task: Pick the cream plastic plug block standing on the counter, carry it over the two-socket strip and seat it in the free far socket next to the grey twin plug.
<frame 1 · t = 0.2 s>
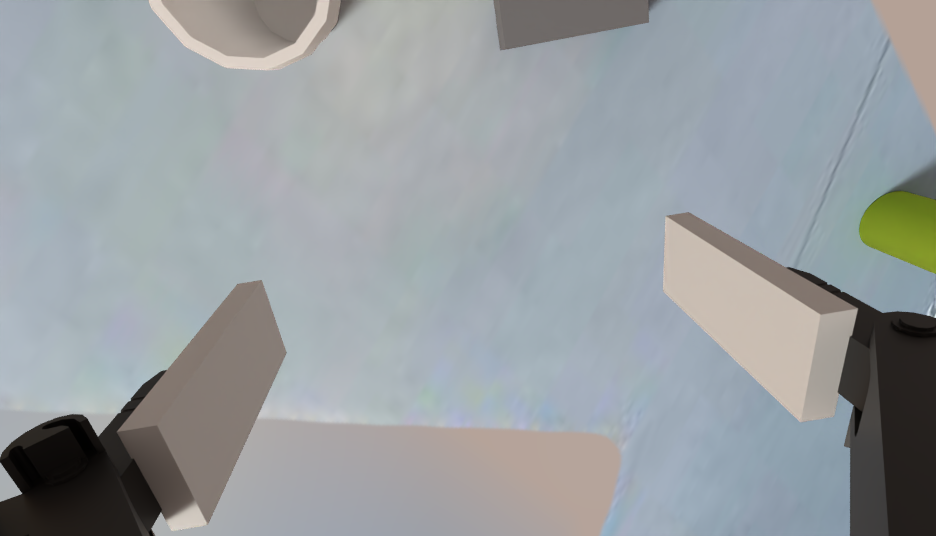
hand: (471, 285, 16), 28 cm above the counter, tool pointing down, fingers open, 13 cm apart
soap dispenser: (881, 223, 48), on the counter
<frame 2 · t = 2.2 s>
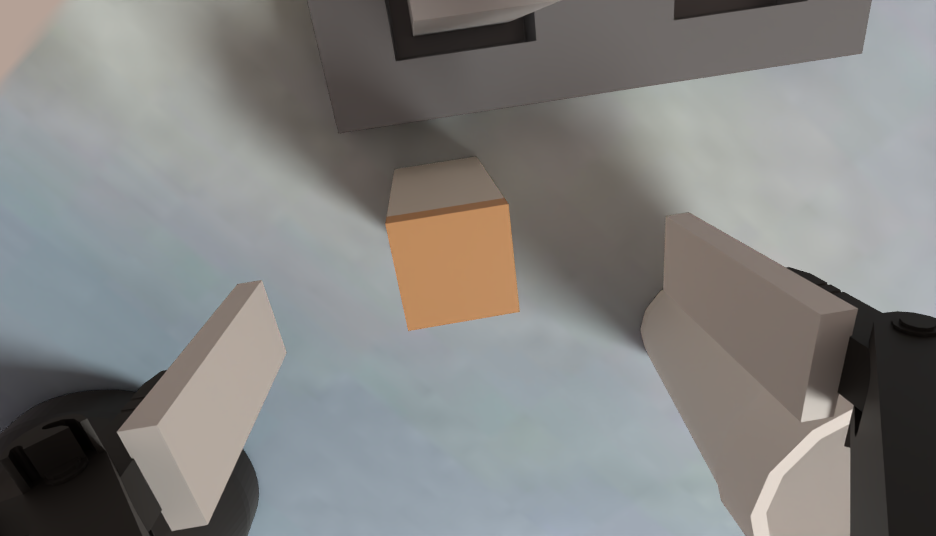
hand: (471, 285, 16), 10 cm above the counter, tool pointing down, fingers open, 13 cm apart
foam cup: (688, 319, 30), on the counter
plug: (441, 202, 25), on the counter
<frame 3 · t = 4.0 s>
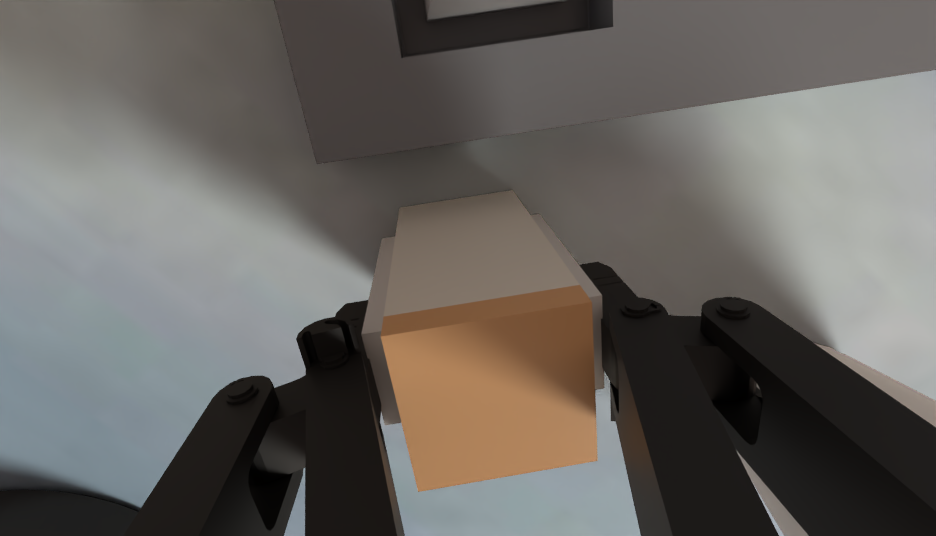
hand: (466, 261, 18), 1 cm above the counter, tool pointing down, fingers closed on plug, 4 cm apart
foam cup: (779, 395, 23), on the counter
plug: (464, 251, 19), on the counter, touching gripper
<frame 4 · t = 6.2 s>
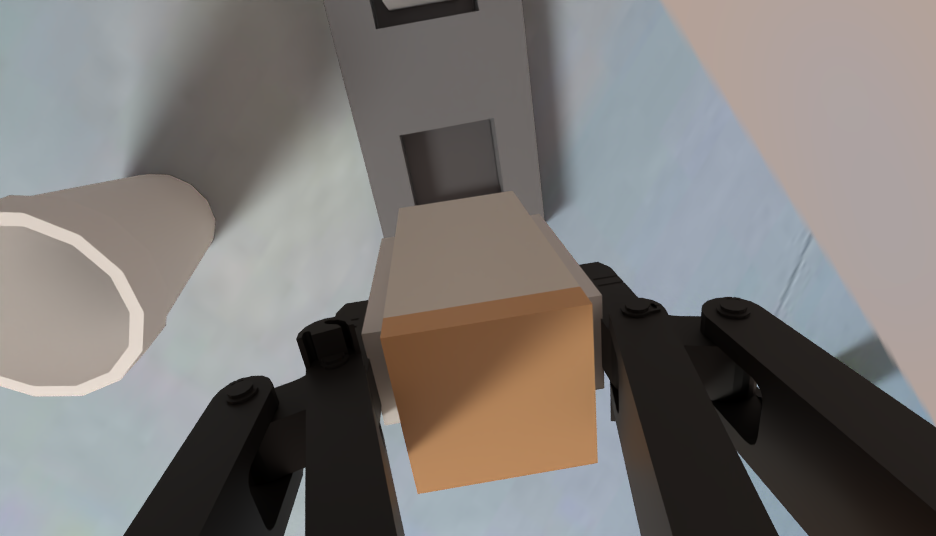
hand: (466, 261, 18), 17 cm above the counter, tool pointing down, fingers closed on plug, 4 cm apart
foam cup: (168, 218, 33), on the counter
socket strip: (436, 73, 31), on the counter
plug: (463, 252, 18), point 16 cm above the counter, touching gripper
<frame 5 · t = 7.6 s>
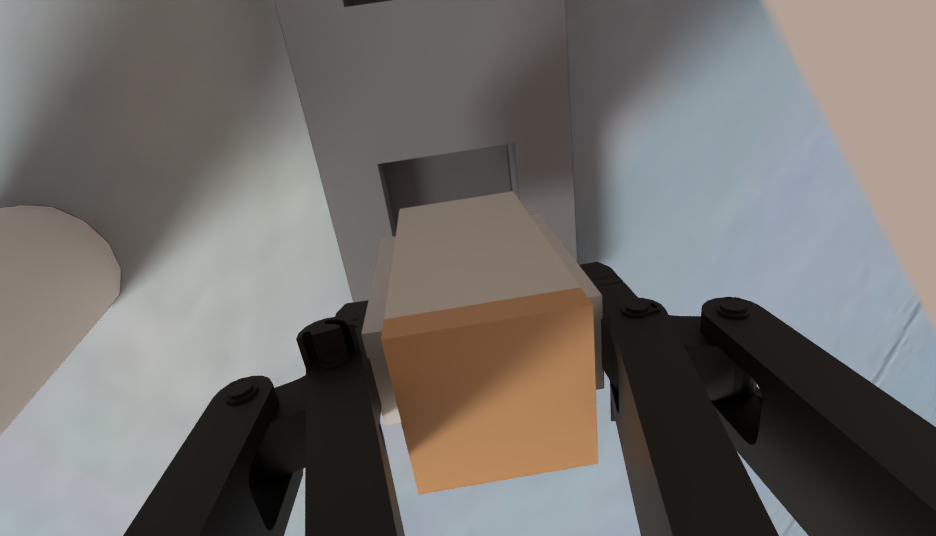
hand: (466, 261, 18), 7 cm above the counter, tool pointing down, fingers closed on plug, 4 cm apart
foam cup: (54, 265, 24), on the counter
socket strip: (433, 77, 22), on the counter
plug: (464, 252, 18), point 6 cm above the counter, touching gripper
when the fingers open (4 cm above the counter, at t = 8.5 s): plug drops 2 cm, resting on socket strip.
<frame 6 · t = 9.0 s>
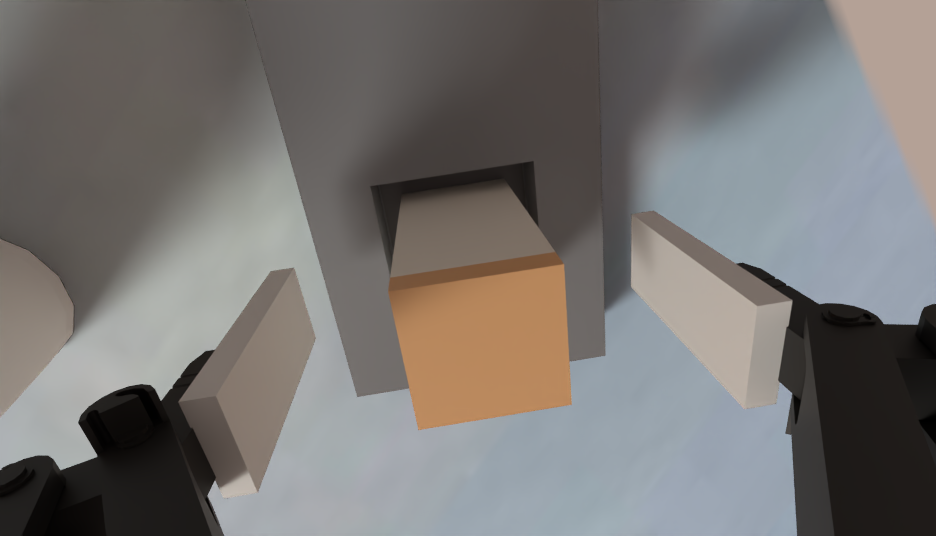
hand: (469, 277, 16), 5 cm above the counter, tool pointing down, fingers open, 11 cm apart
socket strip: (436, 82, 19), on the counter
plug: (460, 234, 20), point 1 cm above the counter, touching socket strip
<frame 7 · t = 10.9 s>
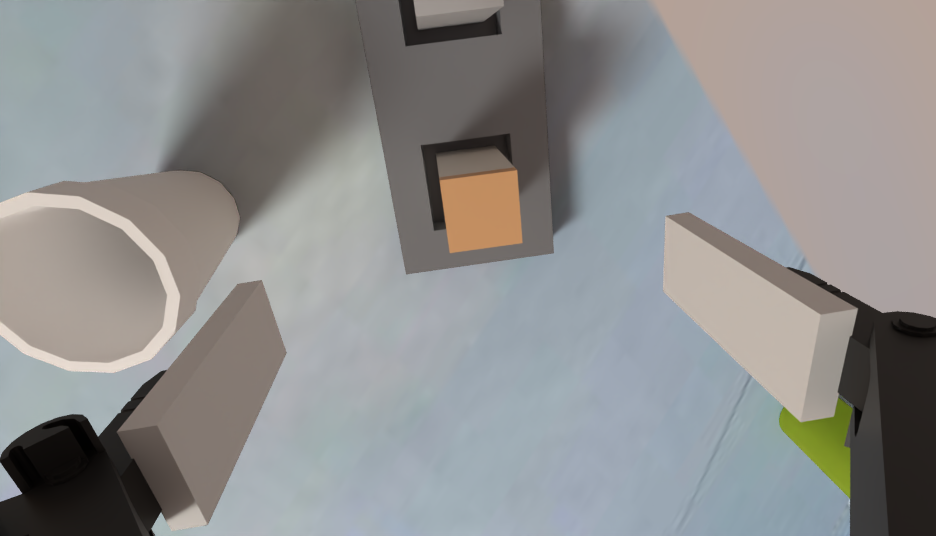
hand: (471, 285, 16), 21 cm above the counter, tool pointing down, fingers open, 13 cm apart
foam cup: (195, 212, 35), on the counter
socket strip: (457, 90, 33), on the counter
soap dispenser: (802, 414, 48), on the counter
plug: (468, 178, 35), point 1 cm above the counter, touching socket strip
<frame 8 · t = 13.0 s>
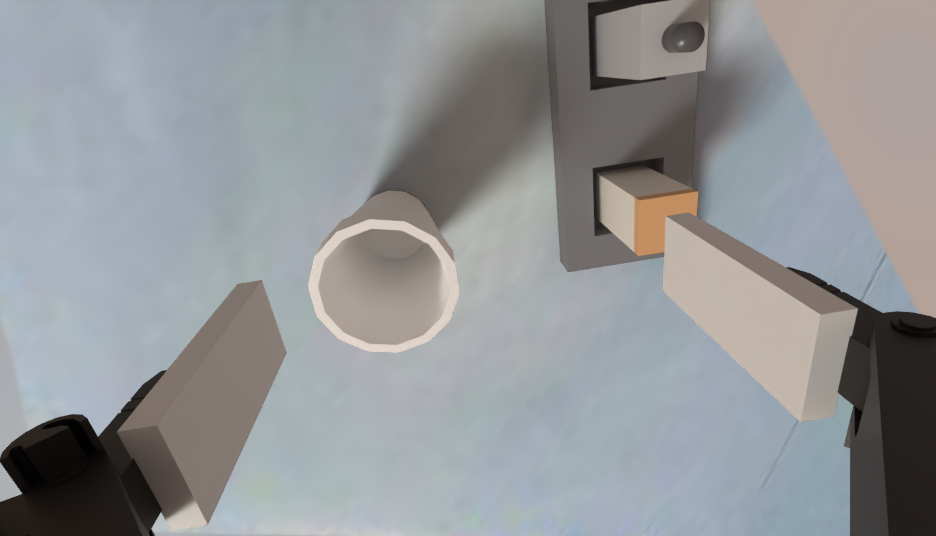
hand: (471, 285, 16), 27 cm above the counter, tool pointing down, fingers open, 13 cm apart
foam cup: (395, 224, 43), on the counter
twin plug: (618, 43, 38), resting on socket strip
socket strip: (616, 121, 41), on the counter
plug: (619, 192, 42), point 1 cm above the counter, touching socket strip
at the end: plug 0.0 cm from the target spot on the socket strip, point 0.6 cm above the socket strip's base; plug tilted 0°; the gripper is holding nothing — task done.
